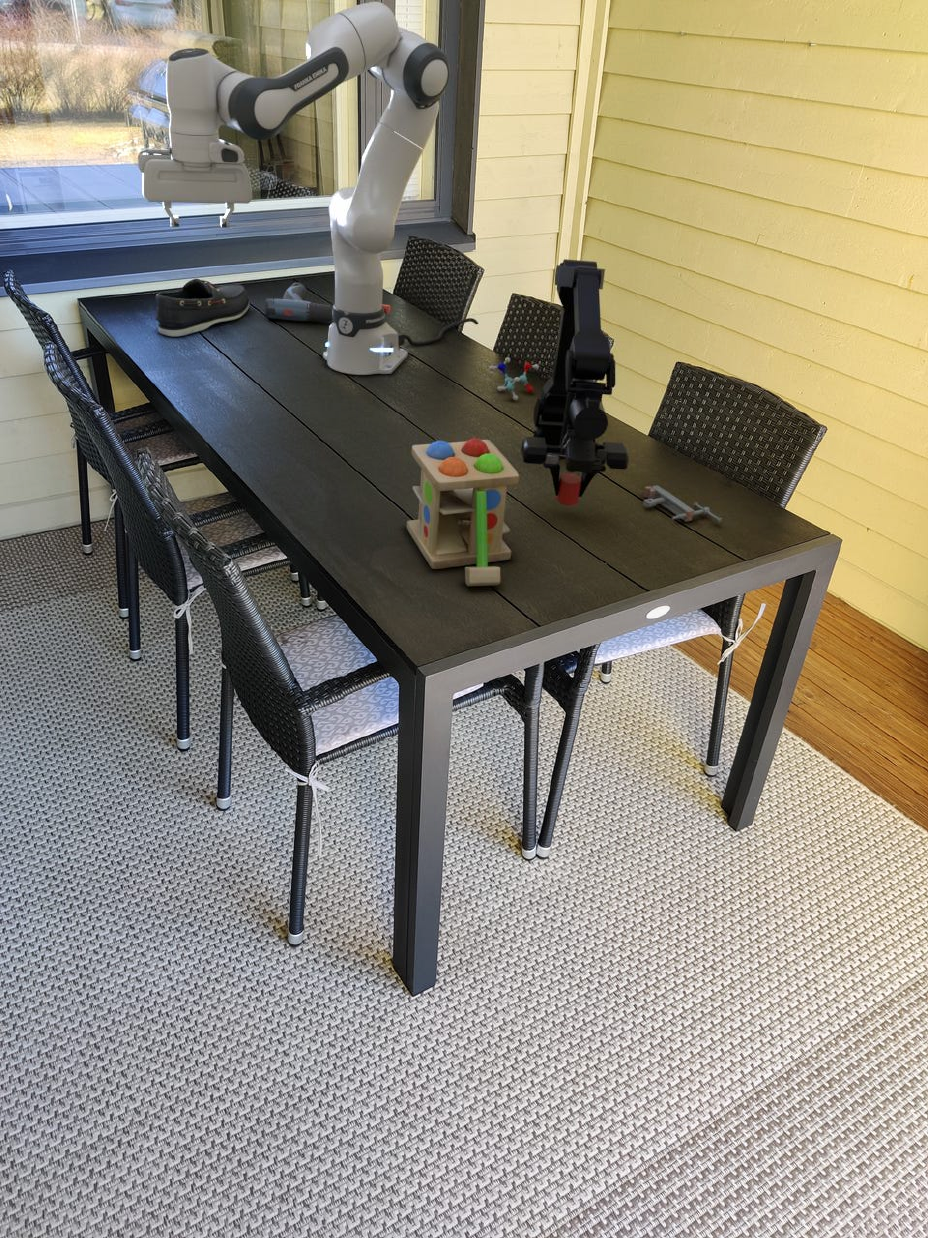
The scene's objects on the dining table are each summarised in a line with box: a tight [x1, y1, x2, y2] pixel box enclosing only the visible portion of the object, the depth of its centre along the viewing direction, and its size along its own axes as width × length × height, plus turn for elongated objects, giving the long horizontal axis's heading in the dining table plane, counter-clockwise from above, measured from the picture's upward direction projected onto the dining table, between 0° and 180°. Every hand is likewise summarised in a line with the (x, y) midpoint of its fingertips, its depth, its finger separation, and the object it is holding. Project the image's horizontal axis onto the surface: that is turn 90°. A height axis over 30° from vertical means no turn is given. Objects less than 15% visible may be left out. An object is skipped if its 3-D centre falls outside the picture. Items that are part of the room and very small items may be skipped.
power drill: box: [264, 282, 333, 322], centre depth 265 cm, size 5×19×20 cm
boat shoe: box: [155, 278, 250, 337], centre depth 253 cm, size 13×33×10 cm, turn 147°
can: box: [556, 473, 582, 506], centre depth 180 cm, size 4×4×4 cm
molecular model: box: [489, 356, 540, 402], centre depth 228 cm, size 12×10×10 cm
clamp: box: [643, 484, 723, 524], centre depth 186 cm, size 15×2×10 cm
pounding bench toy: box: [406, 438, 520, 587], centre depth 162 cm, size 23×14×18 cm, turn 20°
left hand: (200, 226), depth 190 cm, fingers open, 8 cm apart
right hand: (567, 495), depth 180 cm, fingers closed on can, 4 cm apart
